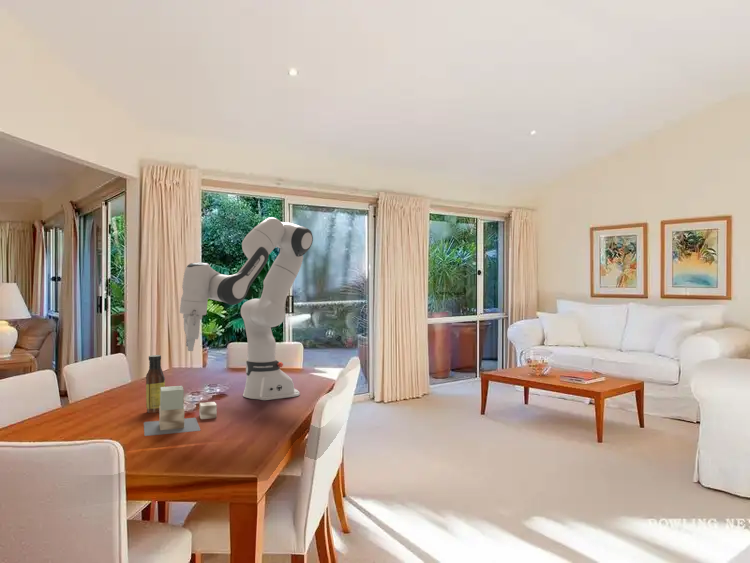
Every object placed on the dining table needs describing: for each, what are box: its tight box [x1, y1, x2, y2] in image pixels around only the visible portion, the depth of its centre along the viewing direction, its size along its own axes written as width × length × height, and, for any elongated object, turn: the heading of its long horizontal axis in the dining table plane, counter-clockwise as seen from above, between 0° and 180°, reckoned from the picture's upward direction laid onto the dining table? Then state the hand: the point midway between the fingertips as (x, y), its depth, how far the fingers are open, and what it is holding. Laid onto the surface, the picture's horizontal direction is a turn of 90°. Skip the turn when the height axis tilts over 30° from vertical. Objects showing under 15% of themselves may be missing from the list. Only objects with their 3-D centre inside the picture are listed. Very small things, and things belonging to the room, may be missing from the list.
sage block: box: [160, 385, 185, 411], centre depth 171 cm, size 6×6×6 cm
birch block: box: [158, 406, 185, 430], centre depth 171 cm, size 7×7×6 cm
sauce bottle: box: [145, 354, 166, 414], centre depth 190 cm, size 7×6×20 cm
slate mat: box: [143, 417, 201, 437], centre depth 171 cm, size 16×16×1 cm
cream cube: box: [198, 401, 218, 420], centre depth 183 cm, size 5×5×5 cm
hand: (189, 348), depth 187 cm, fingers open, 8 cm apart
